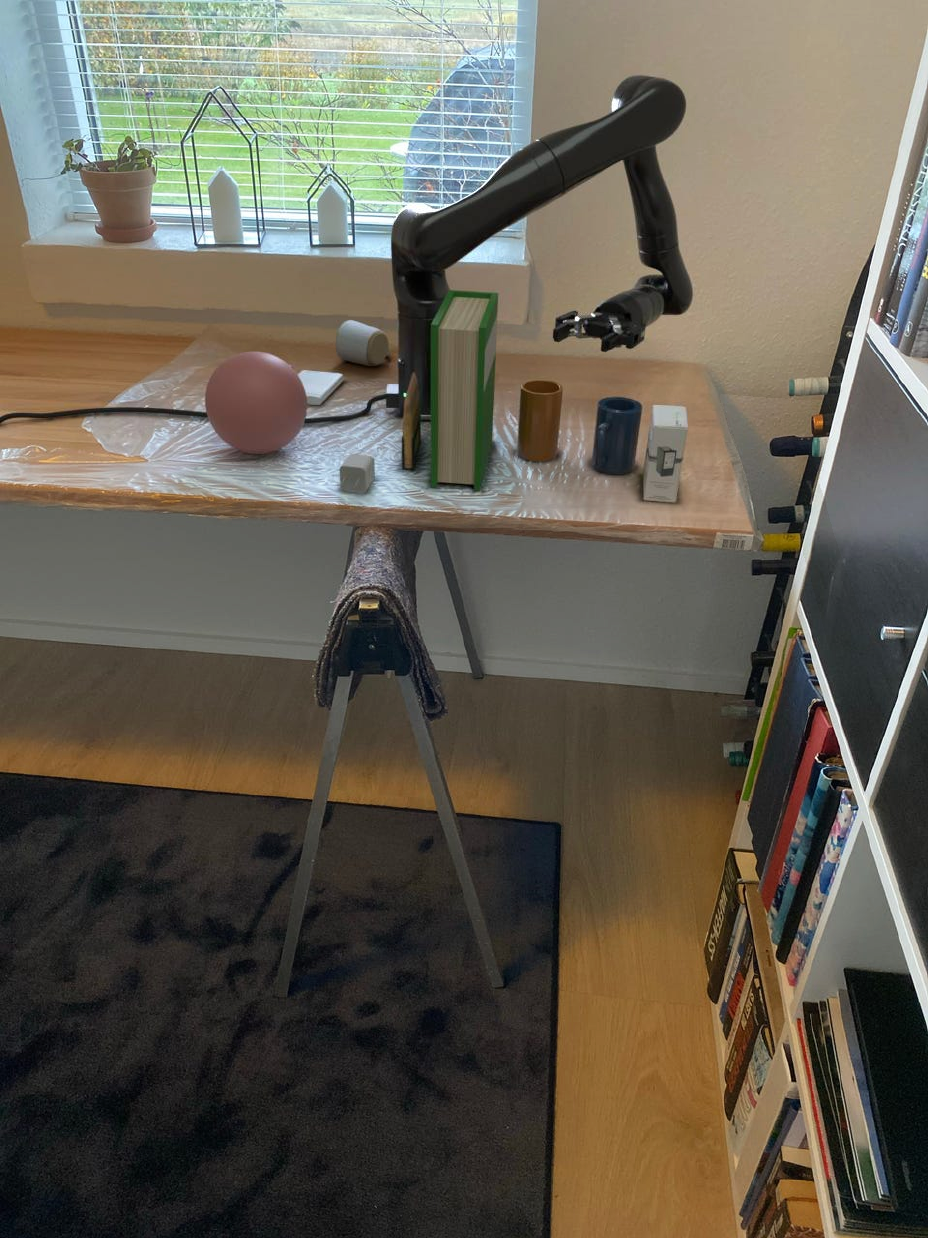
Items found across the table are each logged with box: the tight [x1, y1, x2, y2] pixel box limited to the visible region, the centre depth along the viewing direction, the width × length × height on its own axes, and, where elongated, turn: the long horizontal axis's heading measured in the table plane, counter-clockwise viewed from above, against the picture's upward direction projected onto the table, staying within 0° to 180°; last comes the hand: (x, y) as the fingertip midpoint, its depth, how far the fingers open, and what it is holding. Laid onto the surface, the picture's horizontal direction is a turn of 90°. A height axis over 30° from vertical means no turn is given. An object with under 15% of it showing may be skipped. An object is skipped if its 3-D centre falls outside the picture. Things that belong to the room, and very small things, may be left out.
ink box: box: [642, 404, 689, 504], centre depth 136 cm, size 9×5×12 cm, turn 172°
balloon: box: [204, 351, 308, 455], centre depth 146 cm, size 15×20×15 cm
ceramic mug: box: [335, 319, 391, 367], centre depth 183 cm, size 11×8×8 cm
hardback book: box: [430, 289, 499, 492], centre depth 139 cm, size 18×7×24 cm, turn 173°
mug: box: [591, 396, 643, 476], centre depth 142 cm, size 10×7×10 cm
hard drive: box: [297, 369, 344, 406], centre depth 170 cm, size 2×8×12 cm
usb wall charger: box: [338, 453, 376, 494], centre depth 136 cm, size 4×7×4 cm, turn 168°
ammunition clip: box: [401, 372, 422, 471], centre depth 144 cm, size 11×2×12 cm, turn 177°
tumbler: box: [516, 379, 564, 462], centre depth 147 cm, size 6×6×11 cm
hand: (579, 340), depth 149 cm, fingers open, 8 cm apart
